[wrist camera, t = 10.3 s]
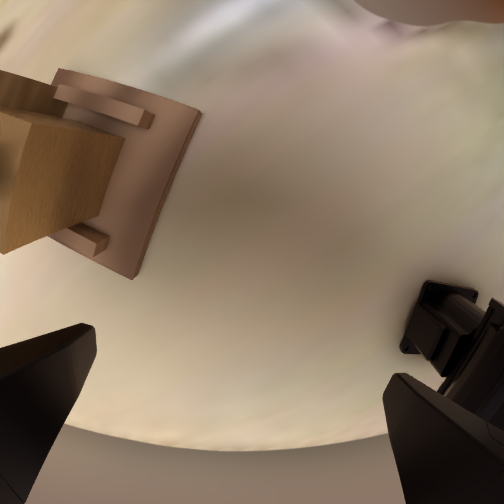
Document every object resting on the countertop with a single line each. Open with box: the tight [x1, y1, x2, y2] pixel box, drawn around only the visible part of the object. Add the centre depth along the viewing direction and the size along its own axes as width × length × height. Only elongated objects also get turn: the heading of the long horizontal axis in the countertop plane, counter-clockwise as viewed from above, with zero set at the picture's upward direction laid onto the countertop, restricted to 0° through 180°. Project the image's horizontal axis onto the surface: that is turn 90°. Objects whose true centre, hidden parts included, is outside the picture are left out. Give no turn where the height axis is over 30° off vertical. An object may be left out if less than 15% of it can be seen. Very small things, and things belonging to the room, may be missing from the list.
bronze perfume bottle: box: [0, 107, 126, 255], centre depth 12 cm, size 4×6×12 cm
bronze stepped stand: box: [0, 68, 202, 280], centre depth 14 cm, size 12×12×10 cm
